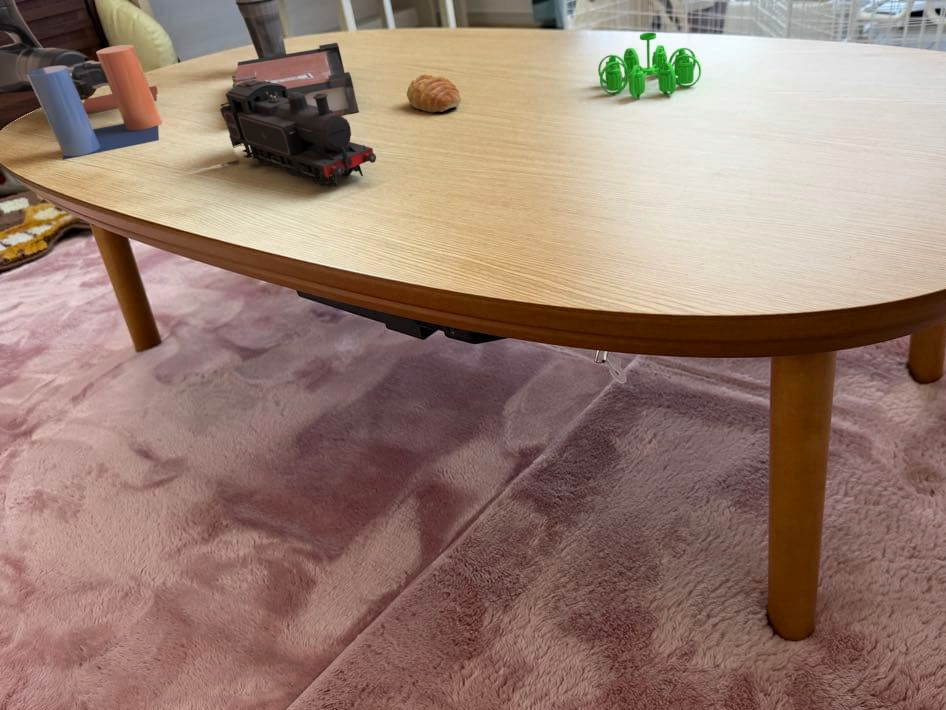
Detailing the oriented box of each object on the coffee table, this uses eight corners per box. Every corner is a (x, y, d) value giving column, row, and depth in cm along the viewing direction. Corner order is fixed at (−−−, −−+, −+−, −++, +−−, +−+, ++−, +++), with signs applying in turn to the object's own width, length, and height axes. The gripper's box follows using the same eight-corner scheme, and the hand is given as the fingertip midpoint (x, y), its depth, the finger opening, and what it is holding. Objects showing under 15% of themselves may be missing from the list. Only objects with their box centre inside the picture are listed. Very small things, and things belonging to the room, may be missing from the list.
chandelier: (669, 66, 123) (669, 17, 119) (722, 87, 111) (724, 33, 107) (579, 85, 119) (576, 35, 115) (625, 109, 108) (623, 54, 104)
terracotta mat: (82, 119, 132) (80, 115, 132) (86, 102, 141) (84, 99, 141) (158, 104, 135) (156, 100, 135) (157, 89, 144) (156, 85, 144)
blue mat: (64, 164, 113) (62, 159, 112) (70, 137, 123) (69, 134, 123) (160, 144, 116) (158, 139, 116) (159, 120, 127) (157, 116, 126)
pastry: (474, 106, 116) (469, 79, 113) (432, 118, 113) (427, 90, 111) (443, 95, 122) (438, 68, 120) (403, 106, 120) (398, 79, 117)
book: (242, 90, 137) (232, 59, 134) (344, 73, 140) (337, 42, 137) (239, 133, 116) (227, 98, 113) (358, 111, 119) (351, 76, 116)
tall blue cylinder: (62, 159, 112) (24, 77, 106) (64, 150, 116) (28, 70, 110) (99, 152, 114) (65, 70, 107) (101, 142, 117) (68, 63, 111)
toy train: (334, 199, 91) (310, 109, 85) (230, 161, 106) (204, 82, 100) (388, 177, 95) (369, 90, 89) (281, 143, 110) (259, 66, 105)
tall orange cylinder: (126, 133, 120) (95, 55, 114) (126, 124, 124) (96, 49, 118) (162, 126, 121) (133, 48, 115) (161, 117, 125) (133, 42, 119)
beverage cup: (249, 71, 149) (212, -52, 137) (284, 61, 152) (252, -59, 141) (266, 76, 144) (230, -51, 132) (302, 66, 148) (270, -58, 136)
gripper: (6, 60, 124) (55, 68, 115) (93, 38, 133) (145, 43, 124) (29, 110, 129) (78, 120, 120) (112, 85, 137) (163, 93, 129)
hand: (112, 81), depth 122 cm, fingers open, 8 cm apart
